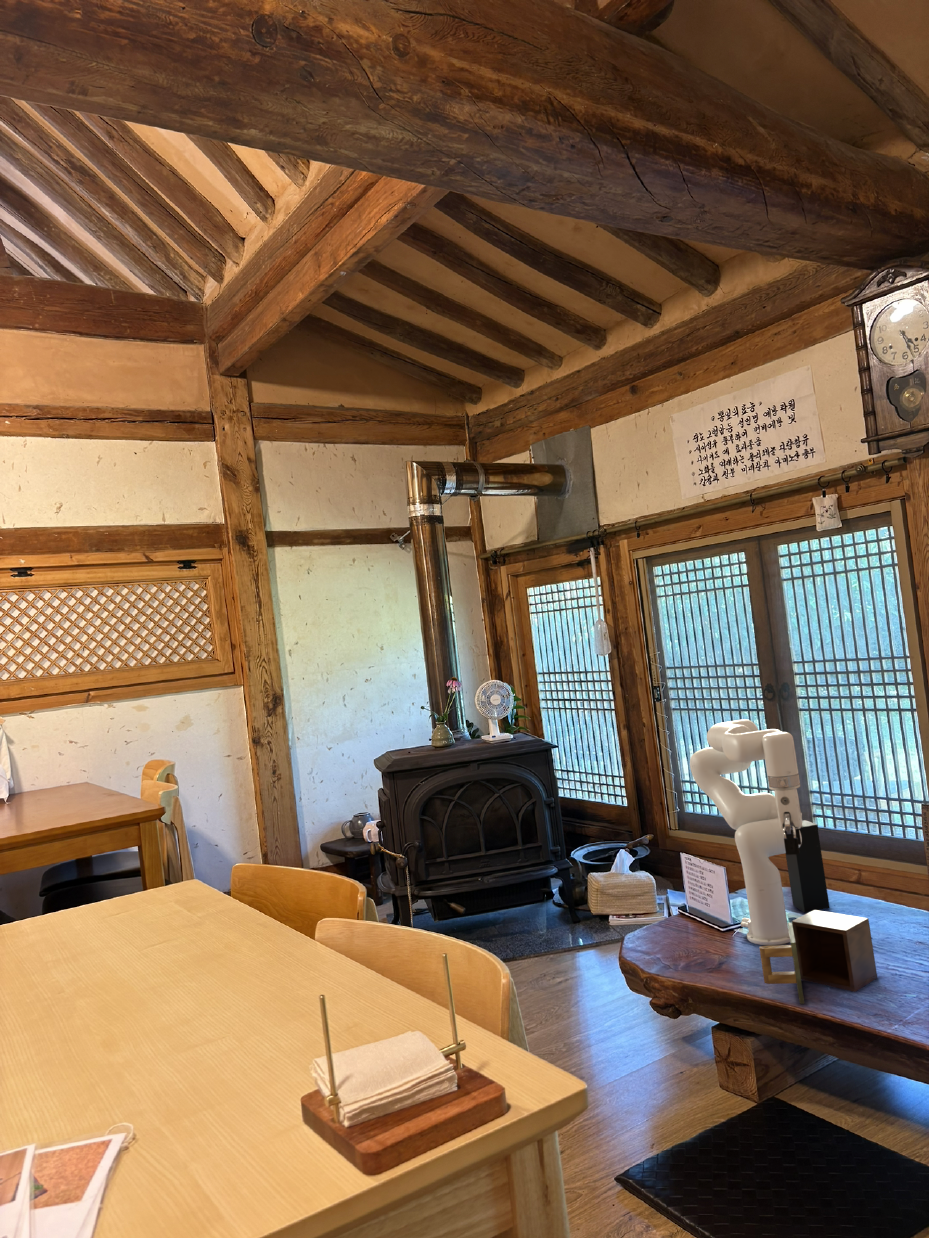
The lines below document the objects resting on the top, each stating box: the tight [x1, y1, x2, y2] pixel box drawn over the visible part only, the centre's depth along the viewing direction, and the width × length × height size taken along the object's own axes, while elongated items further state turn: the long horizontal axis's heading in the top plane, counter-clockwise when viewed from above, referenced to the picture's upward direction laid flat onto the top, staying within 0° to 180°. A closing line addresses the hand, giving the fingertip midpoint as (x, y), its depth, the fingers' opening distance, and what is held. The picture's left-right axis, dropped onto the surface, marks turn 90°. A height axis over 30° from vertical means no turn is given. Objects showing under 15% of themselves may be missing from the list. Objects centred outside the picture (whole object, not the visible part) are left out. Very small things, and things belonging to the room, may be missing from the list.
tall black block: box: [784, 812, 831, 913], centre depth 267 cm, size 8×8×28 cm
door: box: [758, 922, 806, 1005], centre depth 209 cm, size 8×14×14 cm, turn 163°
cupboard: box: [791, 910, 878, 993], centre depth 213 cm, size 10×14×14 cm
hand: (793, 849), depth 226 cm, fingers open, 9 cm apart
